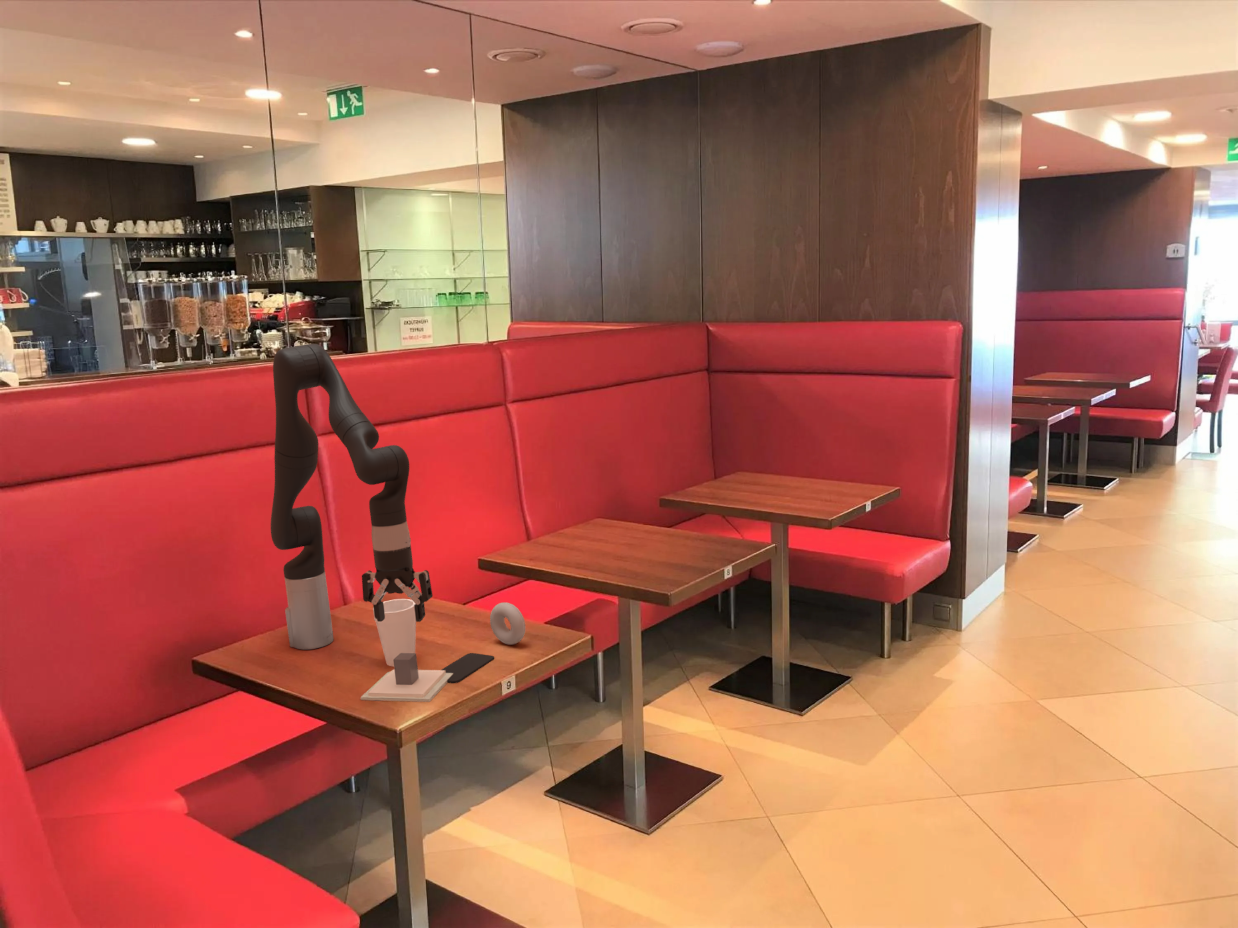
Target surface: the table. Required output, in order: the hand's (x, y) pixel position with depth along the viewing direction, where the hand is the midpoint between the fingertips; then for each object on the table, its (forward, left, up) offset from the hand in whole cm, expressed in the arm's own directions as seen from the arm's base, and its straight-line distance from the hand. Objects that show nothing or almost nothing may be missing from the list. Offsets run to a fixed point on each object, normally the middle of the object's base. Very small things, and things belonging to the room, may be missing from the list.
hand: (400, 620), depth 199 cm
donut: (+14, +25, -15) cm, 32 cm away
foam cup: (-8, +14, -15) cm, 22 cm away
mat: (0, 0, -15) cm, 15 cm away
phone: (+8, +11, -15) cm, 20 cm away
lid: (0, 0, -14) cm, 14 cm away
